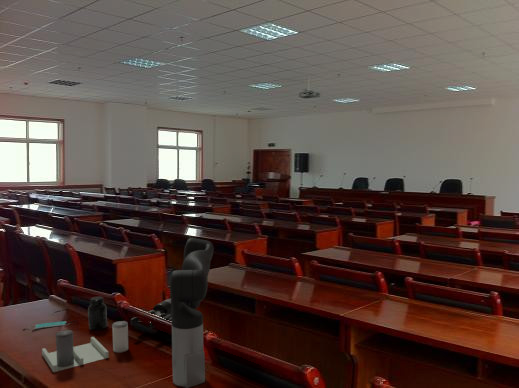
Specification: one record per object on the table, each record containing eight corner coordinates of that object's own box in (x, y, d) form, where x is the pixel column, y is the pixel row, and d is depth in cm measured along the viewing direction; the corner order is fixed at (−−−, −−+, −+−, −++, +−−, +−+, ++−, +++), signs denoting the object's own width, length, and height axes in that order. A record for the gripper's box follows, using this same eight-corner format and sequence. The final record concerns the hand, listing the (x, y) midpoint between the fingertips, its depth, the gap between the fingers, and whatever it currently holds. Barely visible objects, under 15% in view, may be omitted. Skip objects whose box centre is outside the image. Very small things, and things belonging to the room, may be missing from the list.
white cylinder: (130, 352, 155) (129, 324, 154) (116, 356, 152) (115, 327, 151) (125, 347, 159) (124, 320, 158) (111, 351, 156) (110, 323, 155)
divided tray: (108, 360, 149) (108, 351, 149) (53, 375, 139) (53, 365, 139) (93, 344, 162) (93, 336, 162) (42, 357, 152) (41, 348, 152)
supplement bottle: (101, 323, 183) (100, 294, 182) (110, 327, 179) (109, 297, 178) (85, 328, 178) (84, 298, 177) (94, 332, 174) (93, 301, 173)
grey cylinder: (75, 364, 144) (74, 333, 144) (59, 368, 141) (57, 337, 141) (71, 358, 148) (70, 329, 148) (55, 362, 145) (54, 332, 145)
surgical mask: (71, 307, 192) (81, 312, 185) (71, 317, 192) (82, 322, 185) (19, 320, 177) (28, 326, 170) (19, 330, 177) (29, 337, 170)
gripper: (151, 298, 183) (124, 311, 168) (181, 303, 177) (156, 316, 162) (152, 317, 183) (125, 331, 169) (182, 321, 178) (157, 336, 163)
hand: (140, 323), depth 165 cm, fingers open, 8 cm apart
